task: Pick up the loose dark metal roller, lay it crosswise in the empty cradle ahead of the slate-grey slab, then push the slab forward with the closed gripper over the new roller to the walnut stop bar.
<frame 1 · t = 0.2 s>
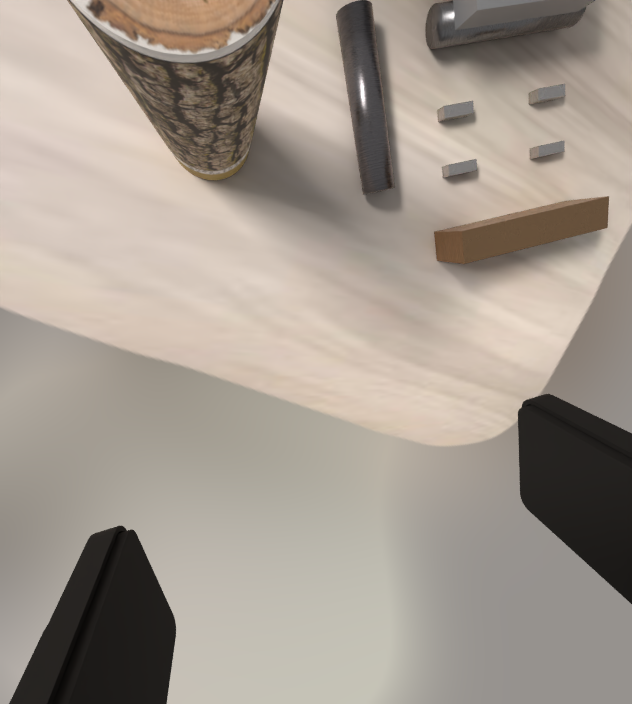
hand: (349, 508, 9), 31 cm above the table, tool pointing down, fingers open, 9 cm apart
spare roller: (360, 112, 35), on the table
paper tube: (210, 139, 33), on the table
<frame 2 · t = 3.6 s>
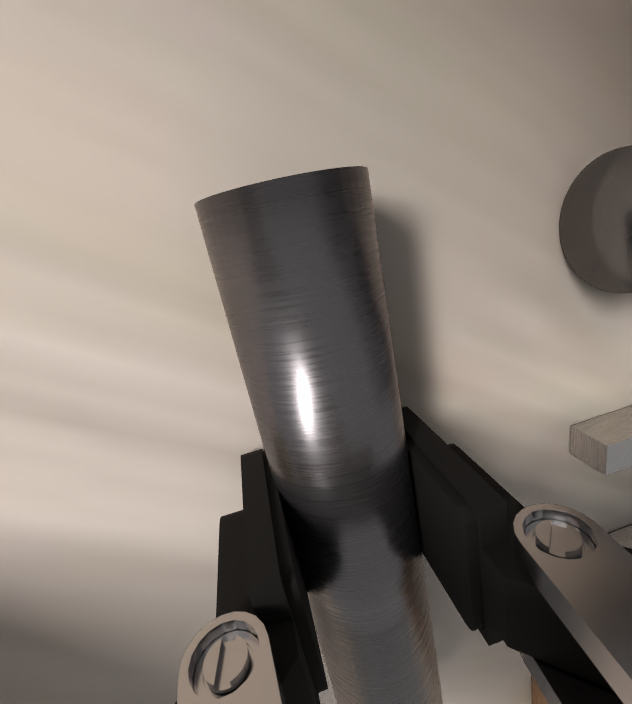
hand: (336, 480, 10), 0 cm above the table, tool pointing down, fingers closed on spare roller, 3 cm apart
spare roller: (328, 472, 10), on the table, touching gripper
when the fingers open (2 cm above the table, at t = 8.9 s): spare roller drops 2 cm, on the table.
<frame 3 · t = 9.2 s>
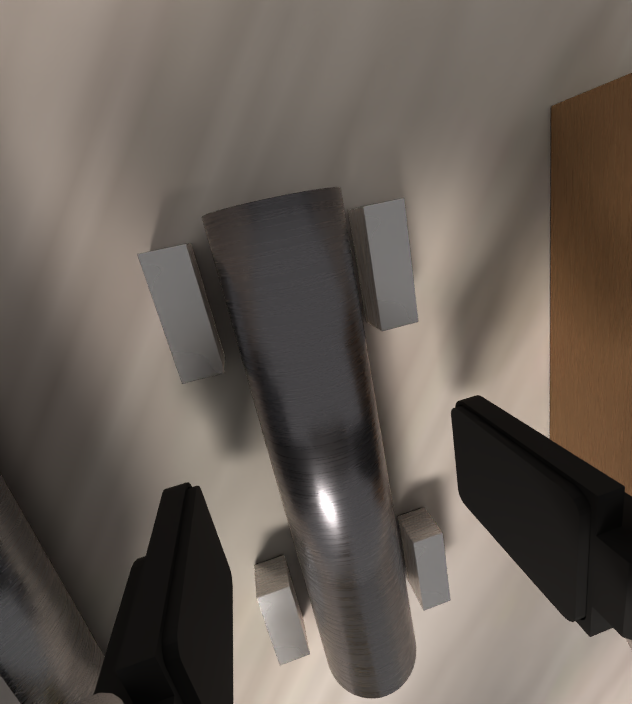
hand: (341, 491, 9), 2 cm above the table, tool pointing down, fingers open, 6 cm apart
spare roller: (314, 445, 12), on the table, tilted 6°
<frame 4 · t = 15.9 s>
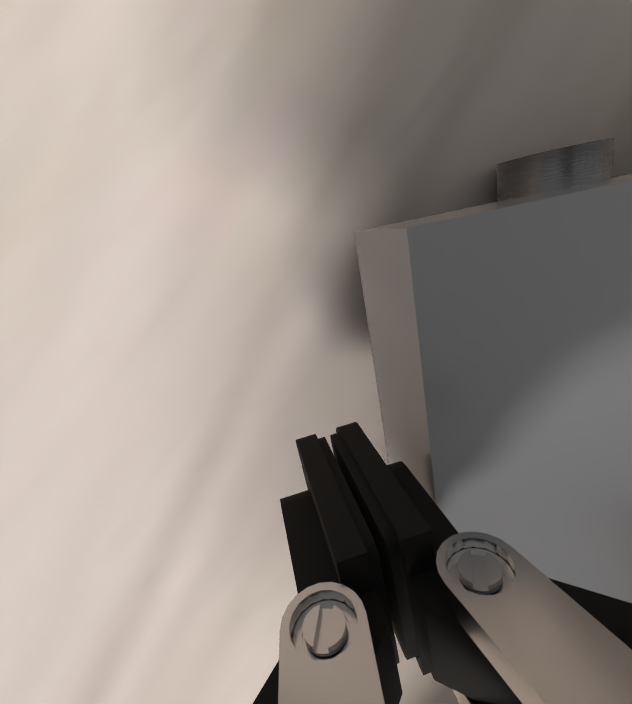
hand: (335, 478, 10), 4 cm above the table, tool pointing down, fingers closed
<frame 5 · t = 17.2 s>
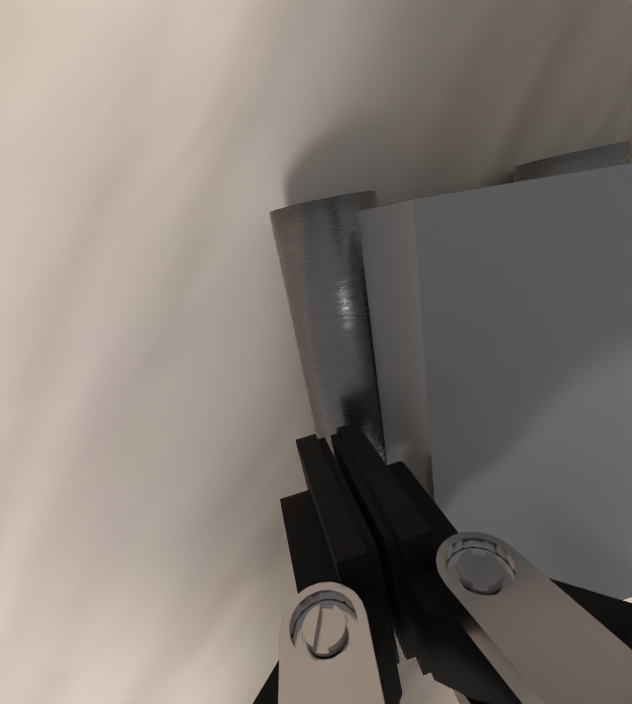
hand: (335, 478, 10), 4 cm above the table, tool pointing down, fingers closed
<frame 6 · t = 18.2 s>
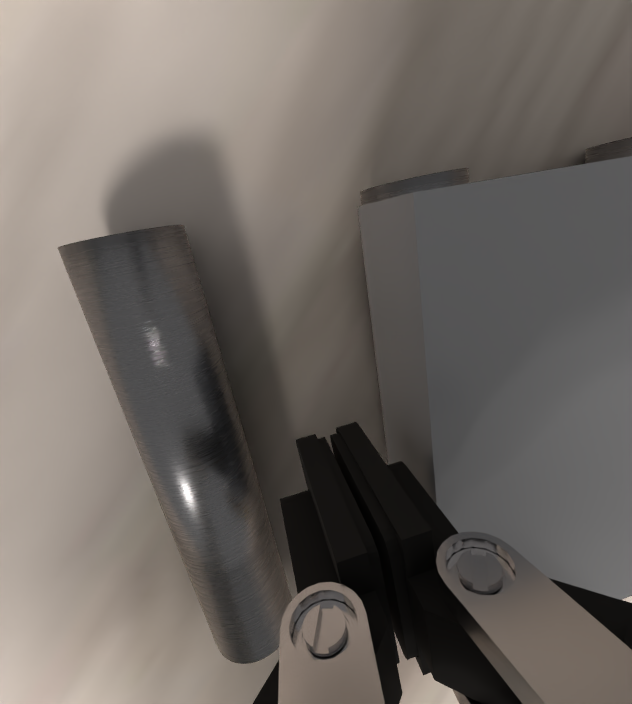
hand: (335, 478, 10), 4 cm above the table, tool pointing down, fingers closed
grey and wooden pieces: (549, 344, 15), on the table
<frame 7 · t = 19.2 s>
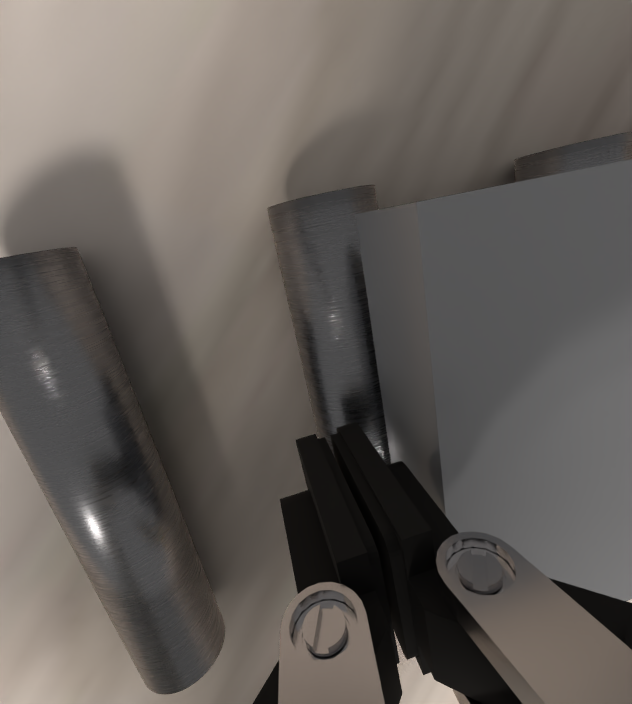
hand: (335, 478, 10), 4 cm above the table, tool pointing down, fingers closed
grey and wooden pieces: (490, 359, 15), on the table
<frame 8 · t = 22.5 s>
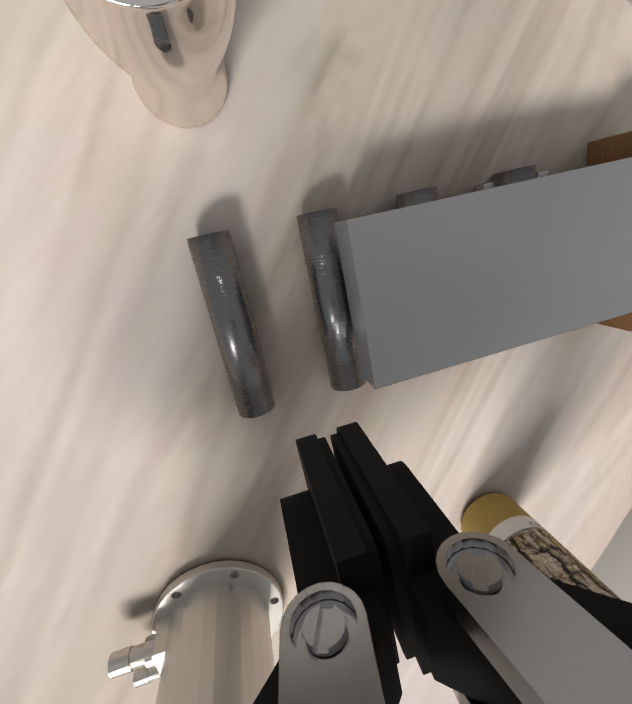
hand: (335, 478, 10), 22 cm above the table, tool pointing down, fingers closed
beer glass: (181, 78, 25), on the table
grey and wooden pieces: (395, 284, 32), on the table
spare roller: (500, 261, 32), point 1 cm above the table, tilted 87°, touching slab
slab: (487, 268, 30), point 3 cm above the table, touching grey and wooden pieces, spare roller
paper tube: (484, 514, 43), on the table
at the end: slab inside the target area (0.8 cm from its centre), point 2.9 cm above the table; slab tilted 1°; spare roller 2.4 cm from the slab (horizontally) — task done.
